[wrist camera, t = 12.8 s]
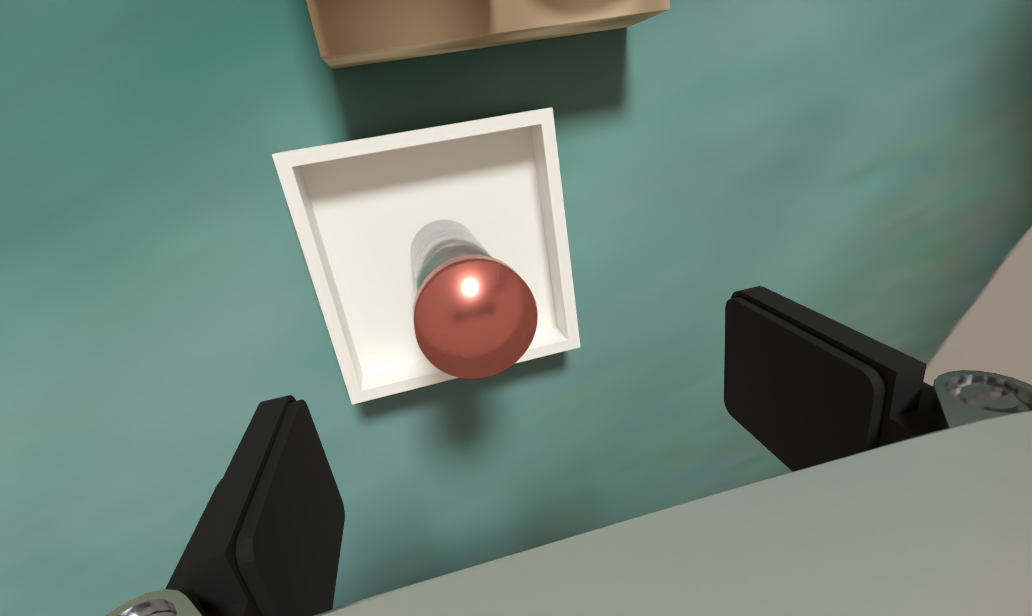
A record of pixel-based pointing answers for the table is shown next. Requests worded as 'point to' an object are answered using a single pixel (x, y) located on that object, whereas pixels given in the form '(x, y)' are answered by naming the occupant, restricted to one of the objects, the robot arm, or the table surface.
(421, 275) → the pin
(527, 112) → the tray
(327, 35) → the wooden base with socket
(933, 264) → the table surface
